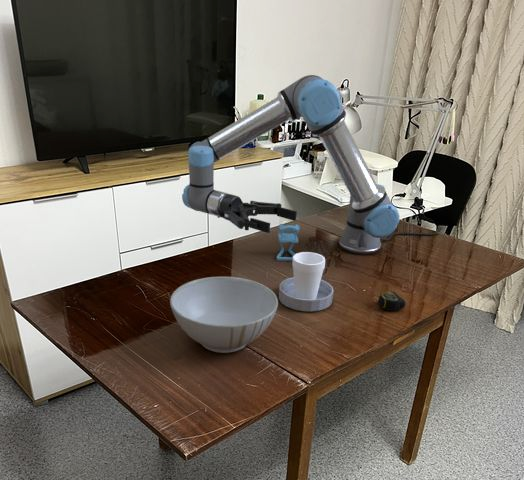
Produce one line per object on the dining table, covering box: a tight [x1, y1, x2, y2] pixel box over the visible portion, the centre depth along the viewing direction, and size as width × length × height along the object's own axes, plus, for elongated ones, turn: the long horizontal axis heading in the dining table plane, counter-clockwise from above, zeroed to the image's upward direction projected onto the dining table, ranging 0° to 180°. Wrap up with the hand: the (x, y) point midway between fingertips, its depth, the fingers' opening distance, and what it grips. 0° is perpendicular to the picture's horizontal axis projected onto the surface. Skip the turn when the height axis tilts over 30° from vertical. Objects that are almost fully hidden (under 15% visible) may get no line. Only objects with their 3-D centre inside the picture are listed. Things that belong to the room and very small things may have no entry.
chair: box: [276, 223, 300, 262], centre depth 190 cm, size 8×8×12 cm
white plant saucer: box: [278, 276, 335, 312], centre depth 164 cm, size 16×16×4 cm
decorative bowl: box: [169, 276, 279, 354], centre depth 140 cm, size 27×27×12 cm
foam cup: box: [291, 251, 326, 300], centre depth 161 cm, size 10×9×13 cm
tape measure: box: [378, 291, 407, 311], centre depth 162 cm, size 7×7×4 cm
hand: (283, 222), depth 158 cm, fingers open, 13 cm apart
